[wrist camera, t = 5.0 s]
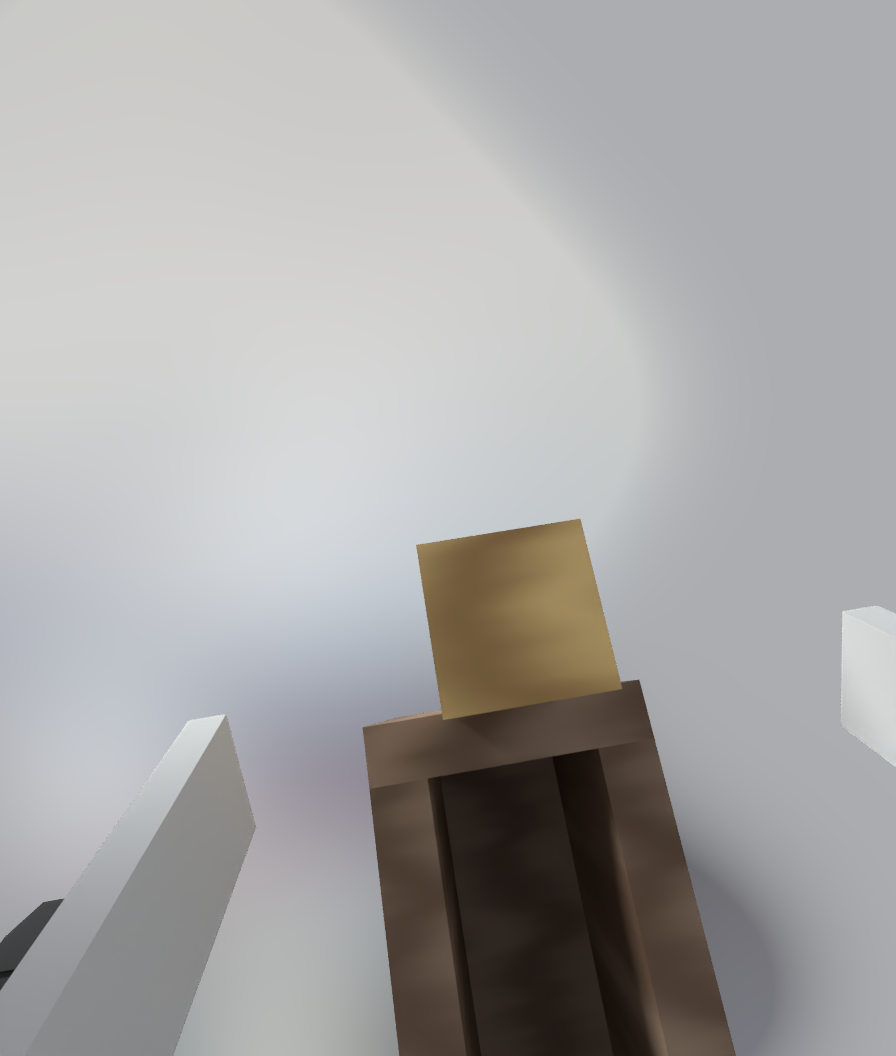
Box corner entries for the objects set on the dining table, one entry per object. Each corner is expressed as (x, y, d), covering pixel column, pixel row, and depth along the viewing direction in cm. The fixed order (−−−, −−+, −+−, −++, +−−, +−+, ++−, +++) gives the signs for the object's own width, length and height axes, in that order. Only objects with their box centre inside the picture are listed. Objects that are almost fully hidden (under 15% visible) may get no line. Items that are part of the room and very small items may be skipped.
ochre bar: (442, 720, 12) (416, 545, 13) (449, 708, 33) (438, 640, 34) (622, 689, 12) (580, 518, 13) (515, 697, 33) (502, 630, 34)
